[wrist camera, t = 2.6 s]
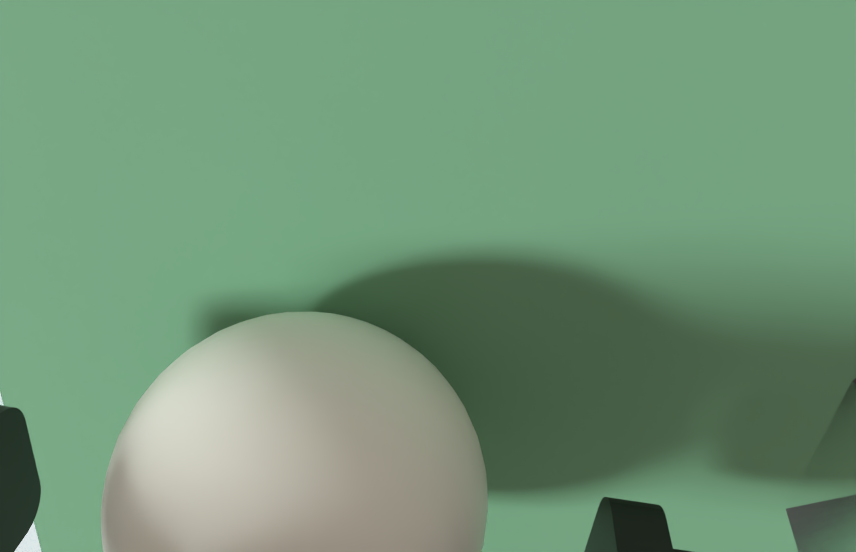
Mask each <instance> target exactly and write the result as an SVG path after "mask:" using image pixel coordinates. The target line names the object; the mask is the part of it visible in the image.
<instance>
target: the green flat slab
mask: <svg viewBox="0 0 856 552" xmlns="http://www.w3.org/2000/svg"><path fill="white" fill-rule="evenodd" d="M283 312H323V313H333V314H338V315H343V316H348V317H352V318H355V319H358V320H361V321H365V322H368V323H370V324H372V325H375V326H377V327H379V328H382V329H384V330H386V331H388V332H389V333H391V334H393V335H395V336H397V337H398V338H400V339H402V340H403V341H404V342H406V343H407V344H409V345H410V346H411V347H413V348H414V349H415V350H417V351H418V352H420V353H421V354H422V355H423V356H424V357H425V358H426V359H428V360H429V361H430V362H431V363H432V364H433V365H434V366H435V367H436V368H437V369H438V370H439V372H440V373H441V374H442V375H443V376H444V378H445V379H446V380H447V381H448V383H449V384H450V385H451V387H452V388H453V389H454V391H455V392H456V394H457V395H458V397H459V399H460V400H461V402H462V403H463V405H464V407H465V409H466V411H467V413H468V416H469V418H470V420H471V423H472V425H473V427H474V429H475V432H476V434H477V436H478V440H479V444H480V448H481V451H482V456H483V460H484V465H485V469H486V478H487V494H488V512H487V521H486V529H485V537H484V544H483V548H482V551H481V552H584V551H585V548H586V545H587V541H588V538H589V535H590V532H591V529H592V526H593V523H594V520H595V516H596V513H597V510H598V507H599V504H600V502H601V500H602V499H603V498H604V497H610V498H616V499H623V500H630V501H637V502H643V503H650V504H657V505H660V506H661V507H662V508H663V510H664V512H665V516H666V519H667V524H668V528H669V533H670V537H671V542H672V546H673V549H679V550H685V551H692V552H856V0H0V392H1V396H2V400H3V404H4V406H8V407H15V408H18V409H20V410H21V411H22V413H23V414H24V417H25V420H26V424H27V428H28V433H29V437H30V441H31V445H32V450H33V454H34V458H35V462H36V467H37V471H38V475H39V479H40V485H41V497H40V503H39V507H38V511H37V514H36V517H35V519H34V524H35V527H36V531H37V535H38V539H39V543H40V547H41V551H42V552H103V546H102V536H101V506H102V496H103V489H104V483H105V477H106V472H107V469H108V466H109V463H110V459H111V456H112V453H113V450H114V447H115V445H116V442H117V439H118V436H119V434H120V432H121V431H122V429H123V427H124V425H125V423H126V421H127V419H128V418H129V416H130V414H131V412H132V410H133V409H134V407H135V405H136V403H137V402H138V401H139V399H140V398H141V397H142V395H143V394H144V393H145V392H146V390H147V389H148V388H149V387H150V385H151V384H152V383H153V382H154V381H155V379H156V378H157V377H158V376H159V375H160V373H162V372H163V371H164V370H165V369H166V368H167V367H168V366H169V365H170V364H172V363H173V362H174V361H175V360H176V359H177V358H179V357H180V356H181V355H182V354H183V353H184V352H186V351H187V350H188V349H190V348H191V347H193V346H195V345H196V344H198V343H200V342H201V341H203V340H205V339H206V338H208V337H210V336H211V335H213V334H215V333H216V332H218V331H220V330H222V329H225V328H227V327H230V326H232V325H234V324H237V323H240V322H243V321H246V320H249V319H253V318H257V317H260V316H264V315H269V314H276V313H283Z"/></svg>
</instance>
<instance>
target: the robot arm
mask: <svg viewBox="0 0 856 552" xmlns="http://www.w3.org/2000/svg"><path fill="white" fill-rule="evenodd" d="M40 497H41V485H40V479H39V475H38V471H37V467H36V462H35V458H34V454H33V450H32V445H31V441H30V437H29V433H28V428H27V424H26V420H25V417H24V414H23V413H22V411H21V410H20V409H18V408H15V407H8V406H1V405H0V552H14V551H15V549H16V548H17V547H18V545H19V544H20V542H21V541H22V539H23V538H24V536H25V535H26V534H27V532H28V530H29V529H30V527H31V525H32V523H33V521H34V519H35V517H36V514H37V511H38V507H39V503H40ZM584 552H692V551H685V550H679V549H673V546H672V542H671V537H670V533H669V528H668V524H667V519H666V516H665V512H664V510H663V508H662V507H661V506H660V505H657V504H650V503H643V502H637V501H630V500H623V499H616V498H610V497H604V498H603V499H602V500H601V502H600V504H599V507H598V510H597V513H596V516H595V520H594V523H593V526H592V529H591V532H590V535H589V538H588V541H587V545H586V548H585V551H584Z"/></svg>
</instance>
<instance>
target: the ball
mask: <svg viewBox="0 0 856 552" xmlns="http://www.w3.org/2000/svg"><path fill="white" fill-rule="evenodd" d="M487 512H488V494H487V478H486V469H485V465H484V460H483V456H482V451H481V448H480V444H479V440H478V436H477V434H476V432H475V429H474V427H473V425H472V423H471V420H470V418H469V416H468V413H467V411H466V409H465V407H464V405H463V403H462V402H461V400H460V399H459V397H458V395H457V394H456V392H455V391H454V389H453V388H452V387H451V385H450V384H449V383H448V381H447V380H446V379H445V378H444V376H443V375H442V374H441V373H440V372H439V370H438V369H437V368H436V367H435V366H434V365H433V364H432V363H431V362H430V361H429V360H428V359H426V358H425V357H424V356H423V355H422V354H421V353H420V352H418V351H417V350H415V349H414V348H413V347H411V346H410V345H409V344H407V343H406V342H404V341H403V340H402V339H400V338H398V337H397V336H395V335H393V334H391V333H389V332H388V331H386V330H384V329H382V328H379V327H377V326H375V325H372V324H370V323H368V322H365V321H361V320H358V319H355V318H352V317H348V316H343V315H338V314H333V313H323V312H283V313H276V314H269V315H264V316H260V317H257V318H253V319H249V320H246V321H243V322H240V323H237V324H234V325H232V326H230V327H227V328H225V329H222V330H220V331H218V332H216V333H215V334H213V335H211V336H210V337H208V338H206V339H205V340H203V341H201V342H200V343H198V344H196V345H195V346H193V347H191V348H190V349H188V350H187V351H186V352H184V353H183V354H182V355H181V356H180V357H179V358H177V359H176V360H175V361H174V362H173V363H172V364H170V365H169V366H168V367H167V368H166V369H165V370H164V371H163V372H162V373H160V375H159V376H158V377H157V378H156V379H155V381H154V382H153V383H152V384H151V385H150V387H149V388H148V389H147V390H146V392H145V393H144V394H143V395H142V397H141V398H140V399H139V401H138V402H137V403H136V405H135V407H134V409H133V410H132V412H131V414H130V416H129V418H128V419H127V421H126V423H125V425H124V427H123V429H122V431H121V432H120V434H119V436H118V439H117V442H116V445H115V447H114V450H113V453H112V456H111V459H110V463H109V466H108V469H107V472H106V477H105V483H104V489H103V496H102V506H101V536H102V546H103V552H481V551H482V548H483V544H484V537H485V529H486V521H487Z"/></svg>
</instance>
